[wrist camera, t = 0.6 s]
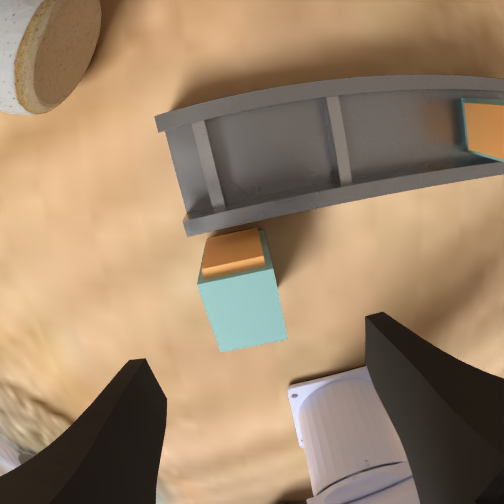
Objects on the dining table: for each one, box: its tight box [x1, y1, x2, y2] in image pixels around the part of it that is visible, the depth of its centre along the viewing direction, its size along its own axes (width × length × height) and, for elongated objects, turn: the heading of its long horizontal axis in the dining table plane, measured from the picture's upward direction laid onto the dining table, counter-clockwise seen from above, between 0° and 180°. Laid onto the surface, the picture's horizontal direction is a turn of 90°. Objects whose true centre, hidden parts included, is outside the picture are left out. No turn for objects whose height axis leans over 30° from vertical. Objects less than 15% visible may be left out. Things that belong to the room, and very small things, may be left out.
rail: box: [154, 74, 504, 237], centre depth 15 cm, size 6×22×3 cm, turn 102°
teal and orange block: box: [197, 227, 288, 352], centre depth 17 cm, size 3×4×5 cm
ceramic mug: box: [0, 0, 102, 115], centre depth 9 cm, size 11×8×8 cm
